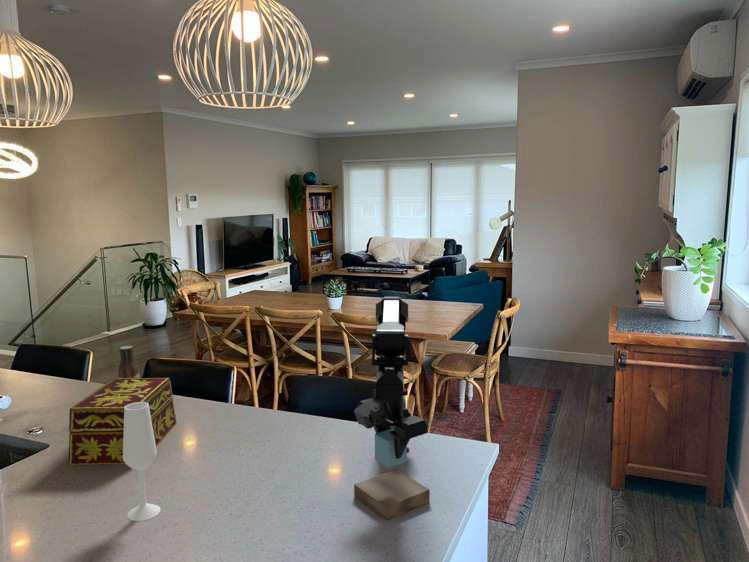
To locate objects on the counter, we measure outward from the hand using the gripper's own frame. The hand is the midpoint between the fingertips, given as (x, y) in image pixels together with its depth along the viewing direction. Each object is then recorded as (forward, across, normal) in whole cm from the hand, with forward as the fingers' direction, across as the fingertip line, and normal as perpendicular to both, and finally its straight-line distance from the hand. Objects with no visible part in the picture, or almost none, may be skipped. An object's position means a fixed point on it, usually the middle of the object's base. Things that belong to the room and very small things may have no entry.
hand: (390, 453), depth 125 cm
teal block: (+2, 0, 0) cm, 2 cm away
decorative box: (+11, -69, -40) cm, 81 cm away
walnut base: (+11, 0, 0) cm, 11 cm away
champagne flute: (+11, -28, -46) cm, 55 cm away
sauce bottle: (+11, -100, -32) cm, 105 cm away
